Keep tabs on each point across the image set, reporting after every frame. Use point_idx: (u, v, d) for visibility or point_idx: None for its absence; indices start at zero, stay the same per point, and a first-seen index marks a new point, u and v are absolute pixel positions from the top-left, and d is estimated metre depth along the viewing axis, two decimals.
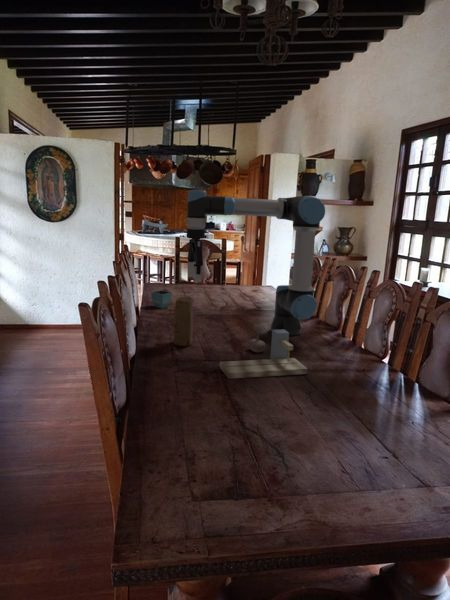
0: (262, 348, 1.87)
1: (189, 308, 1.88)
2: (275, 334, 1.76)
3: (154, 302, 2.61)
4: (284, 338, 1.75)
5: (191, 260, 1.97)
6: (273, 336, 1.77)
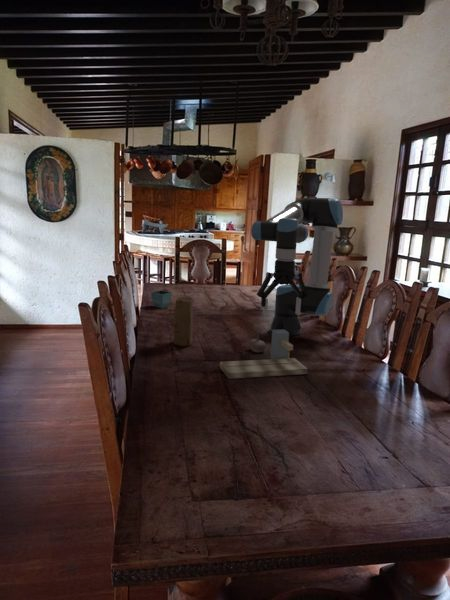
0: (262, 348, 1.87)
1: (189, 308, 1.88)
2: (275, 334, 1.76)
3: (154, 302, 2.61)
4: (284, 338, 1.75)
5: (299, 296, 1.76)
6: (273, 336, 1.77)
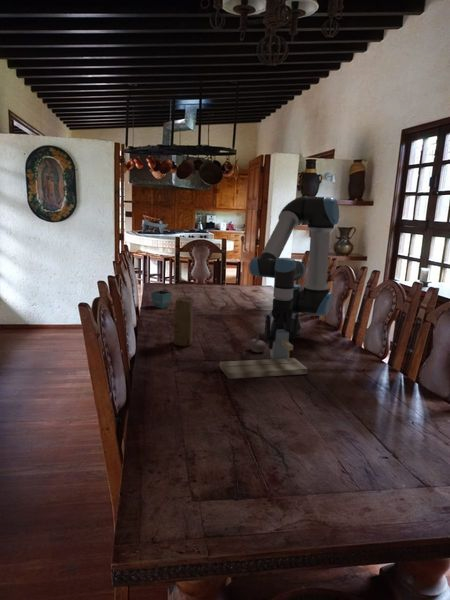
0: (262, 348, 1.87)
1: (189, 308, 1.88)
2: (275, 334, 1.76)
3: (154, 302, 2.61)
4: (284, 338, 1.75)
5: None
6: None
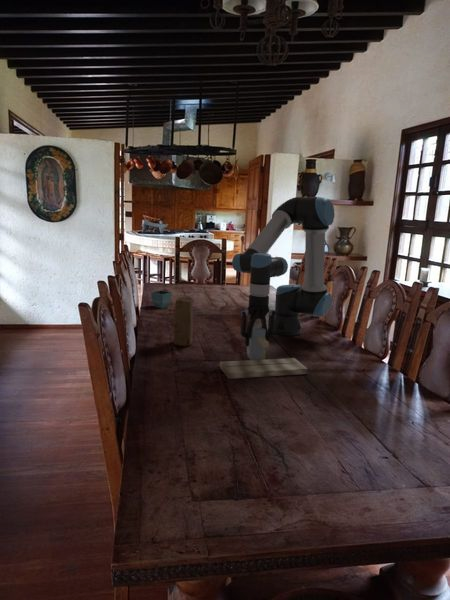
0: None
1: (189, 308, 1.88)
2: None
3: (154, 302, 2.61)
4: (261, 335, 1.72)
5: None
6: None
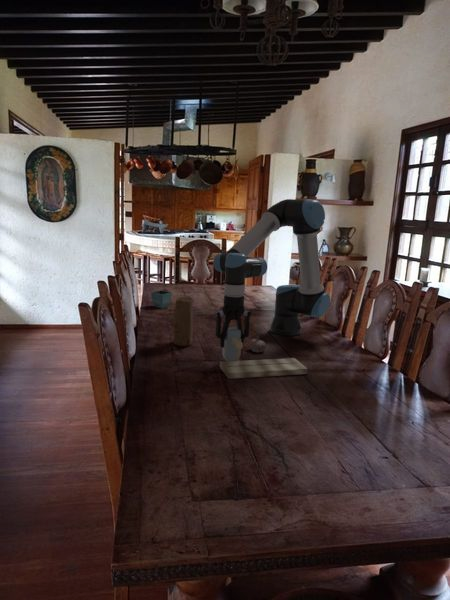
0: (262, 348, 1.87)
1: (189, 308, 1.88)
2: None
3: (154, 302, 2.61)
4: (236, 336, 1.70)
5: None
6: None
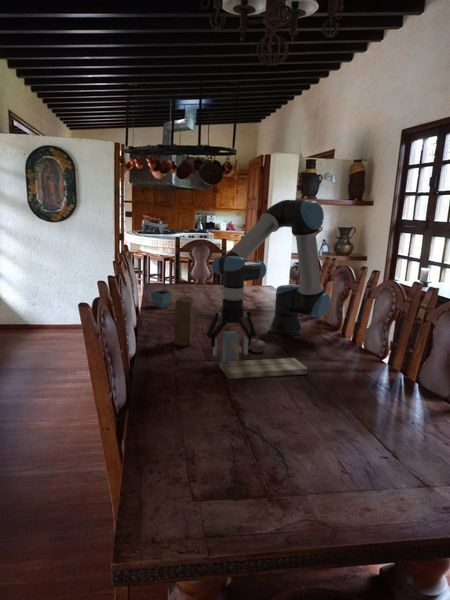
0: (262, 348, 1.87)
1: (189, 308, 1.88)
2: (225, 336, 1.70)
3: (154, 302, 2.61)
4: (235, 340, 1.70)
5: (247, 335, 1.73)
6: (224, 338, 1.72)
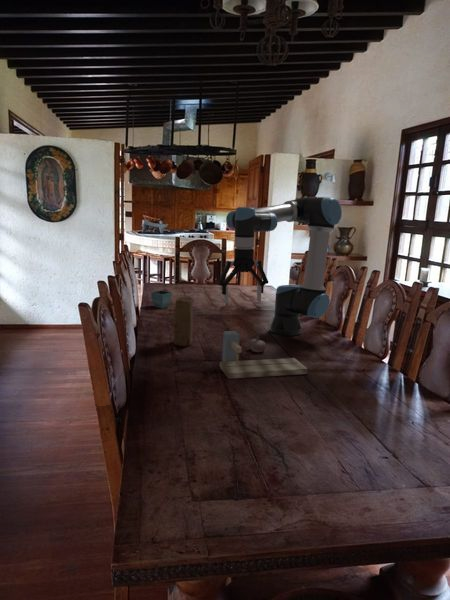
0: (262, 348, 1.87)
1: (189, 308, 1.88)
2: (225, 336, 1.70)
3: (154, 302, 2.61)
4: (234, 340, 1.70)
5: (260, 283, 1.79)
6: (224, 338, 1.72)
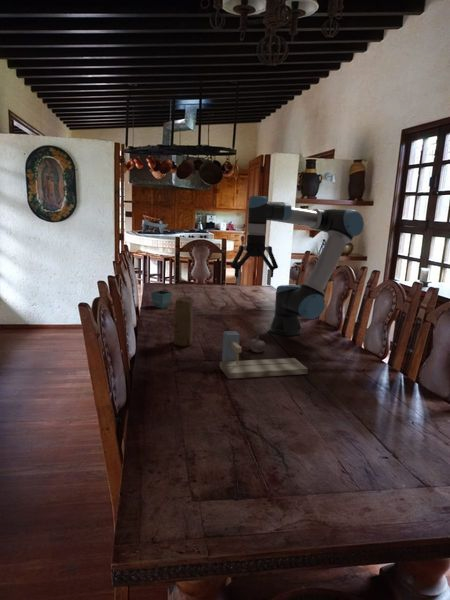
0: (262, 348, 1.87)
1: (189, 308, 1.88)
2: (225, 336, 1.70)
3: (154, 302, 2.61)
4: (234, 340, 1.70)
5: (270, 268, 1.92)
6: (224, 338, 1.72)
